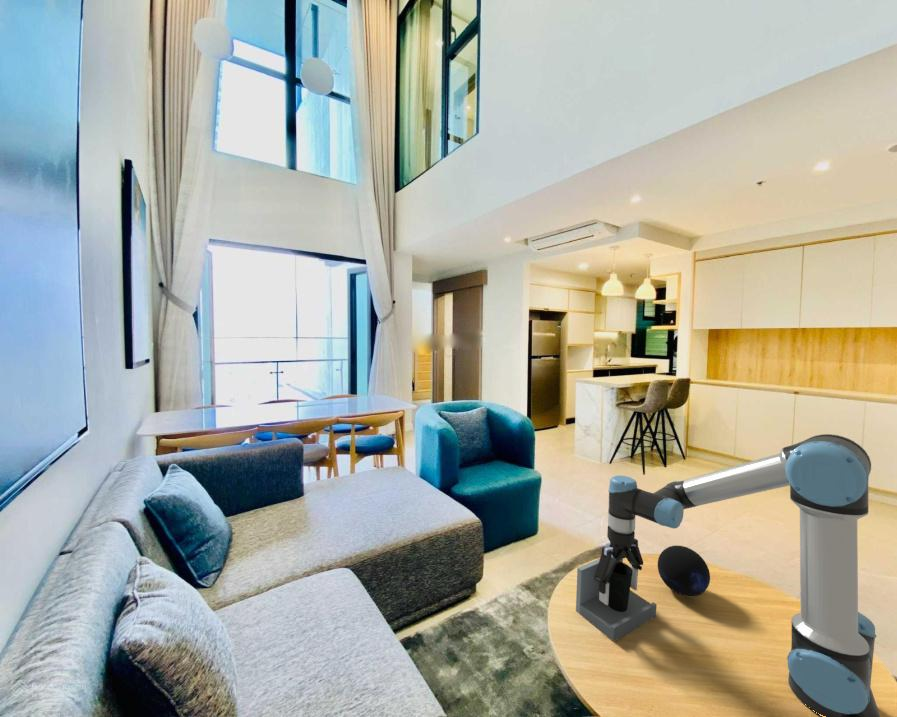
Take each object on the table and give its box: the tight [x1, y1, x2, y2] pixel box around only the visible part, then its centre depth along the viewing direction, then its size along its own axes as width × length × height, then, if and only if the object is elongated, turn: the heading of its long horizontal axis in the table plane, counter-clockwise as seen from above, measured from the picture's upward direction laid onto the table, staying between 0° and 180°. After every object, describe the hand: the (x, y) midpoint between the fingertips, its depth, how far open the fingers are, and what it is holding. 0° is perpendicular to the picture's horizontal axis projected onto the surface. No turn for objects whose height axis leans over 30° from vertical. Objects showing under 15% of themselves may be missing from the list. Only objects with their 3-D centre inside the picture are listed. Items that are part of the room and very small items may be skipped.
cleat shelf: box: [575, 556, 657, 642], centre depth 116 cm, size 14×20×14 cm
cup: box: [608, 561, 633, 612], centre depth 116 cm, size 8×8×12 cm
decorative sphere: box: [657, 545, 711, 597], centre depth 127 cm, size 15×15×15 cm
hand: (618, 594), depth 116 cm, fingers open, 13 cm apart
